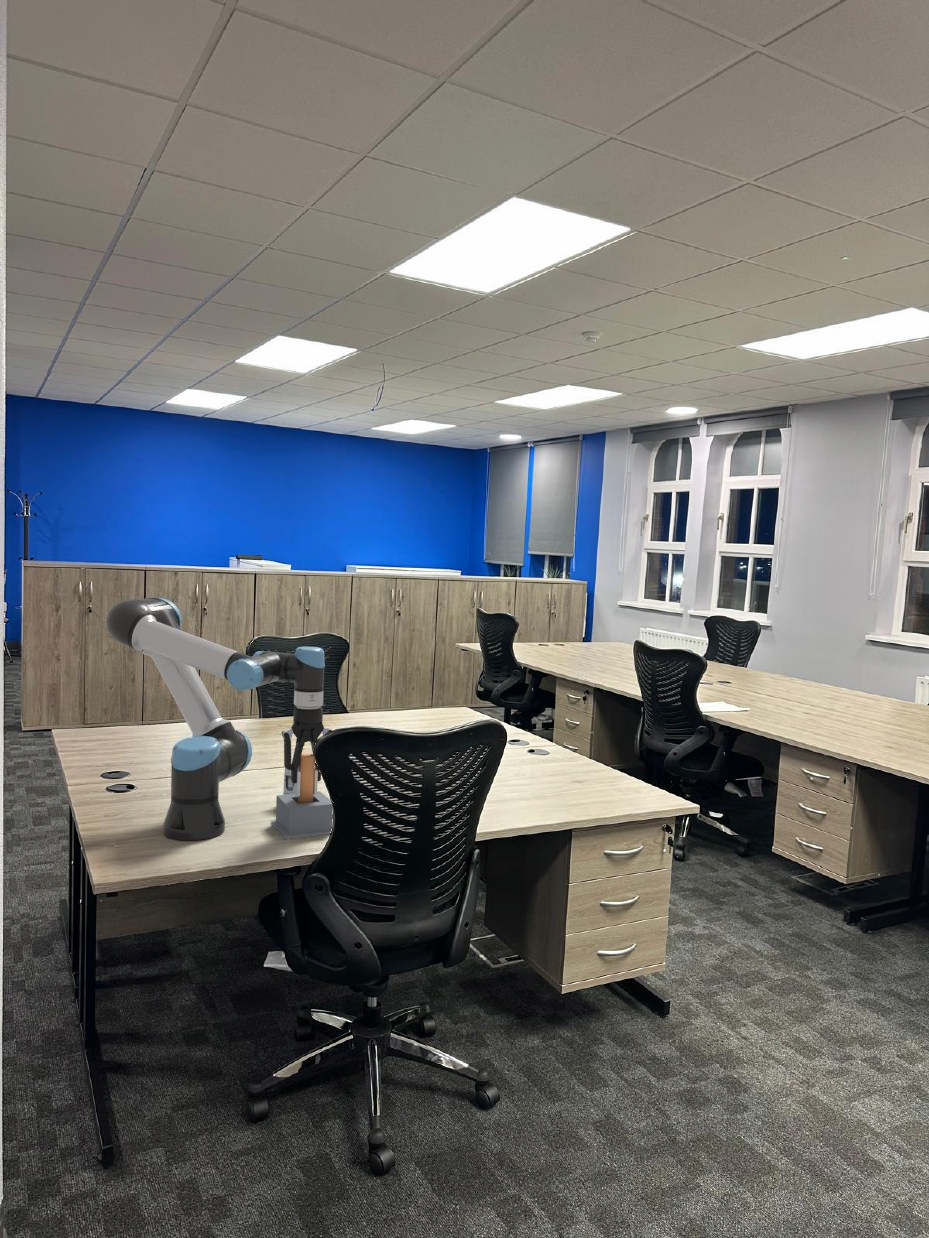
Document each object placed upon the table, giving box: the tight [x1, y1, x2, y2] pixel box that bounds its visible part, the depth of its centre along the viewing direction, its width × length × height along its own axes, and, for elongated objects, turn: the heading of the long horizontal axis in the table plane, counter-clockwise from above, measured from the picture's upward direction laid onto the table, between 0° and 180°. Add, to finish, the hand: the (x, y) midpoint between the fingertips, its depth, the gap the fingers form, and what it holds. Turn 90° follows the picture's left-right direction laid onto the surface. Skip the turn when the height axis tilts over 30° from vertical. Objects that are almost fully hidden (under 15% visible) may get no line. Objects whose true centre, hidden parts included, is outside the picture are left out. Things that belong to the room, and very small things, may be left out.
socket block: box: [270, 790, 333, 840], centre depth 231 cm, size 14×14×8 cm
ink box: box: [282, 761, 315, 795], centre depth 251 cm, size 9×5×12 cm, turn 66°
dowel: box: [298, 753, 315, 804], centre depth 230 cm, size 4×4×14 cm
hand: (305, 793), depth 231 cm, fingers closed on dowel, 4 cm apart
